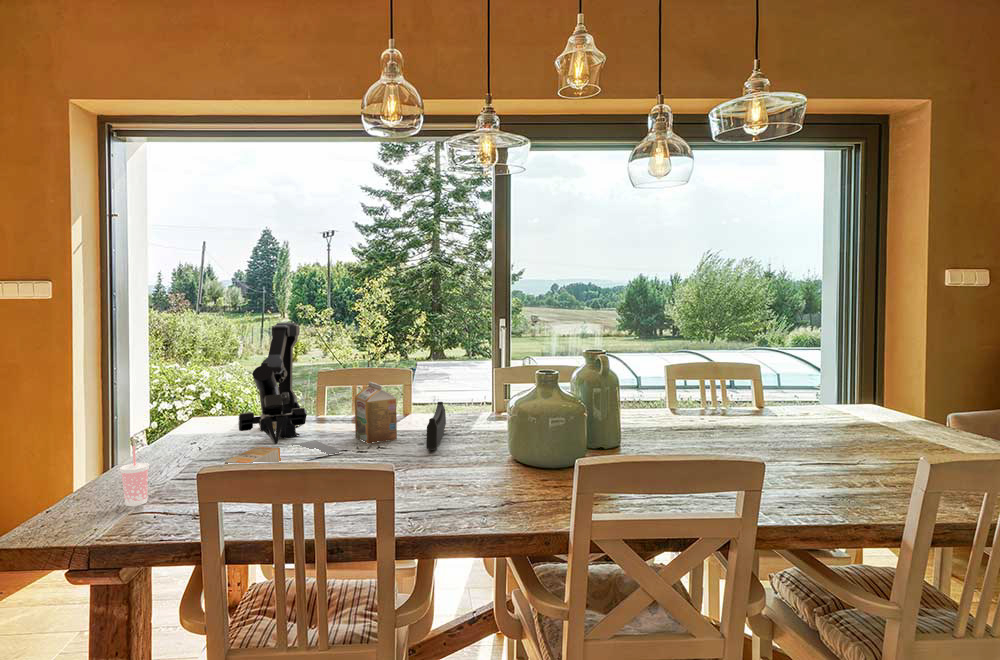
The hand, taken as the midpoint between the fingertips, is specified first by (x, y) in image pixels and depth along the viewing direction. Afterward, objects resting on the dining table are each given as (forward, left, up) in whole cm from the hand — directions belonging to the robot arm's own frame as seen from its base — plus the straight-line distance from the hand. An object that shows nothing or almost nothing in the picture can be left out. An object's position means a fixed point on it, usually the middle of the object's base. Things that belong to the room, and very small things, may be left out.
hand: (276, 443), depth 176 cm
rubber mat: (-8, +8, -7) cm, 13 cm away
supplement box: (-2, -1, -3) cm, 4 cm away
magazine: (+8, +52, -7) cm, 53 cm away
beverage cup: (+7, -37, -7) cm, 38 cm away
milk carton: (-8, +38, -7) cm, 39 cm away
